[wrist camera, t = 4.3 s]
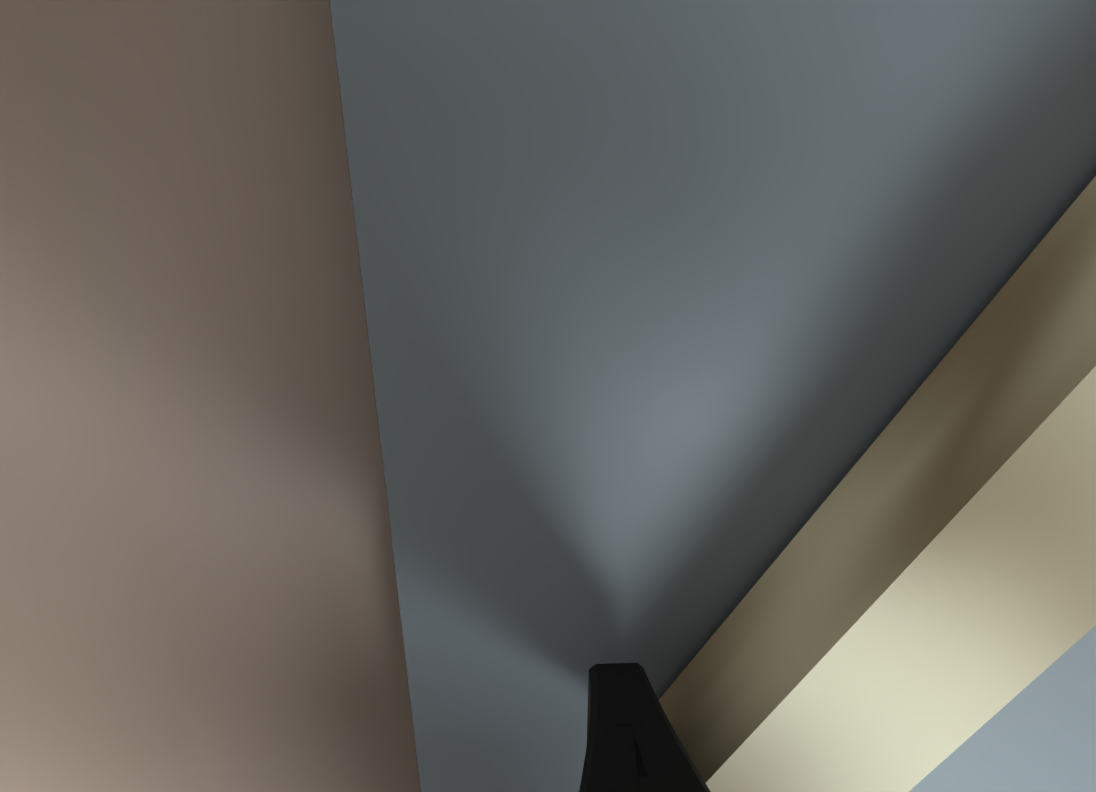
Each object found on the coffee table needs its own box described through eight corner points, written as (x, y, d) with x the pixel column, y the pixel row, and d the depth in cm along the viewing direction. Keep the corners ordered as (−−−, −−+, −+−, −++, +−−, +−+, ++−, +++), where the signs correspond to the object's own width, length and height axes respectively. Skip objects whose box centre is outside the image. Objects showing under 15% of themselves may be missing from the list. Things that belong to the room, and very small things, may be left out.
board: (1199, 786, 15) (1242, 829, 14) (433, 809, 15) (427, 855, 14) (2024, -555, 7) (2256, -657, 6) (284, -622, 6) (243, -749, 5)
